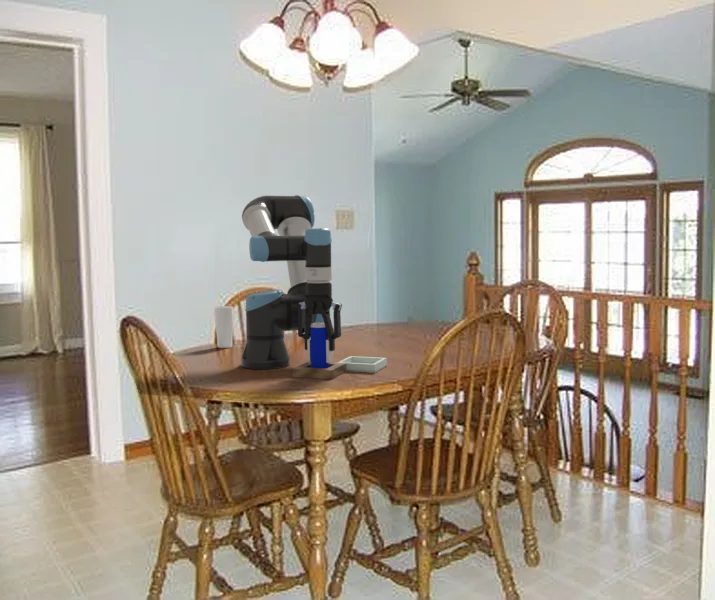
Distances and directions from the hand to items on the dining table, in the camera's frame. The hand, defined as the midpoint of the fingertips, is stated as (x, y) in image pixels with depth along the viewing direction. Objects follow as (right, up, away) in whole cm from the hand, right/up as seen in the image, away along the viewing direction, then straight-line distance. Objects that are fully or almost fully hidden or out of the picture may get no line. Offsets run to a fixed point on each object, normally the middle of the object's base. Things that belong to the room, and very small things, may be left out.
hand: (319, 361), depth 203 cm
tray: (+12, -3, +9) cm, 15 cm away
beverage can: (0, -4, 0) cm, 4 cm away
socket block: (0, -4, 0) cm, 4 cm away
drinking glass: (-38, 0, +53) cm, 65 cm away
